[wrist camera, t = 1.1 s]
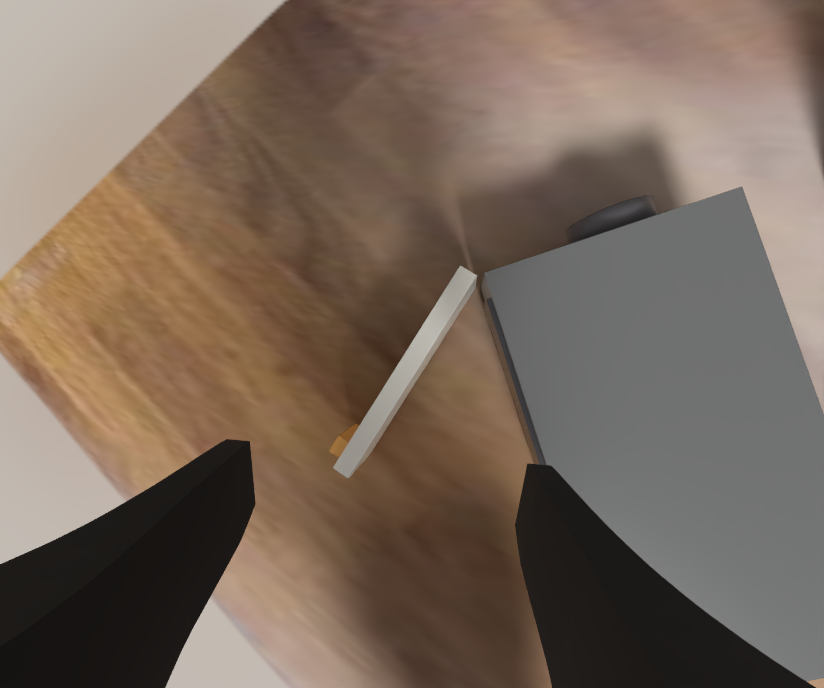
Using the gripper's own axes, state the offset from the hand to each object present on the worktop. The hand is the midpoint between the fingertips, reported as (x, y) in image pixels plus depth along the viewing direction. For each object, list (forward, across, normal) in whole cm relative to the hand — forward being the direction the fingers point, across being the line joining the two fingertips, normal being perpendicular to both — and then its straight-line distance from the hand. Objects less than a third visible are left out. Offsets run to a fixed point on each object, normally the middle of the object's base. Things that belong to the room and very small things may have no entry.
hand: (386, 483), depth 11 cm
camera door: (+11, 0, +1) cm, 11 cm away
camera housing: (+9, -11, +3) cm, 15 cm away
